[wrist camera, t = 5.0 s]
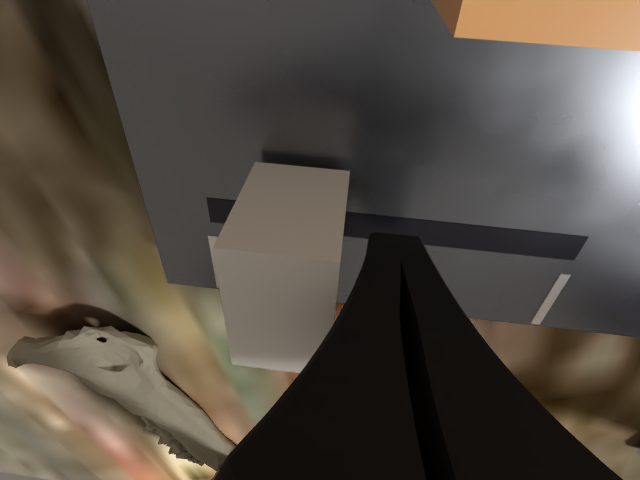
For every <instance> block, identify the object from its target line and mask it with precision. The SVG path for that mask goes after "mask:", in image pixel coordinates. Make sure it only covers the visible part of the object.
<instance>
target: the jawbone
mask: <svg viewBox="0 0 640 480" xmlns="http://www.w3.org/2000/svg"><path fill="white" fill-rule="evenodd" d="M99 337H104V338H108V339H106V340H107V341H106V342H104V343H102V342H100V341H98V340H97V339H96V338H99ZM158 350H159V349H158V347H157V345H156V343H155V342H154V341H153V339H151V338H149V337H147V336H144V335H141V334H138V333H130V332H127V331H124V332H119V331H118V330H116V329H115V328H114V327H112V326H108V327H100V328H97V327H87V326H84V327H83V328H82V329H81V330H72V331H67V332H66V333H65V335H62V336H52V337H44V338H38V339H34V338H30V337H26V336H24V337H23V338H22V339H20V340H19V341H18V342H17V343H16V344H15V345H14V346H13V348H12V349H11V350H10V352H9V354H8V356H7V362H8V366H12V367H15V368H17V367H19V366H21V365H23V364H30V363H36V364H41V365H46V366H50V367H54V368H57V369H61V370H65V371H68V372H71V373H74V374H75V375H76V376H77V377H78V378H79V379H80V380H81V381H82V382H84V383H85V384H86V385H87V386H88V387H90V388H91V389H93V390H94V391H96V392H97V393H99V394H100V395H103V396H106V397H109V398H112V399H115V400H116V401H117V402H118V403H119V404H121V405H122V406H123V407H124V408H125V409H127V410H128V411H129V412H131V413H132V414H133V415H138V416H140V417H141V419H142V420H143V421H144V422H145V423H146V426H145V428H144V430H143V431H153V430H155V429H156V432H155V434H159V435H160V436H161V437H160V439H159V442H158V444H164V445H165V444H167V445H166V446H169V447H170V450H169V454H173V453H174V454H176V458H181V459H188V461H192V462H193V463H197V464H199V465H200V466H202V465H203V464H204V463H205V464H206V465H208V466H209V467H211V468H213V469H214V470H215V471H217V472H216V473H215V476H214V478H215V477H216V475H217V473H218V472H219V470H220V468H221V466H222V465H223V463H224V461H225V460H226V458H227V456H228V455H229V453H230V452H231V451H232V450H233V449H234V448H235V447H236V446H235V445H234V444H233V443H232V442H231V441H230V440H228V439H227V438H226V437H225V436H224V435H223V434H222V433H221V432H220V431H219V429H218V428H217V427H216V426H215V425H214V424H213V422H212V421H211V419H210V418H209V417H208V415H207V414H206V413H205V412H204V411H203V410H202V409H201V408H200V407H199V406H198V405H197V404H196V403H195V402H193V401H192V400H191V399H190V398H189V397H188V396H186V395H185V394H184V393H183V392H182V391H180V390H179V389H178V388H177V387H175V386H174V385H173V384H172V383H170V382H169V381H168V380H167V379H166V378H165V377H164V376H163V375H162V374H161V372H160V370H159V368H158V365H157V363H156V355H157V352H158ZM214 478H213V479H211V480H214Z"/></svg>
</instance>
